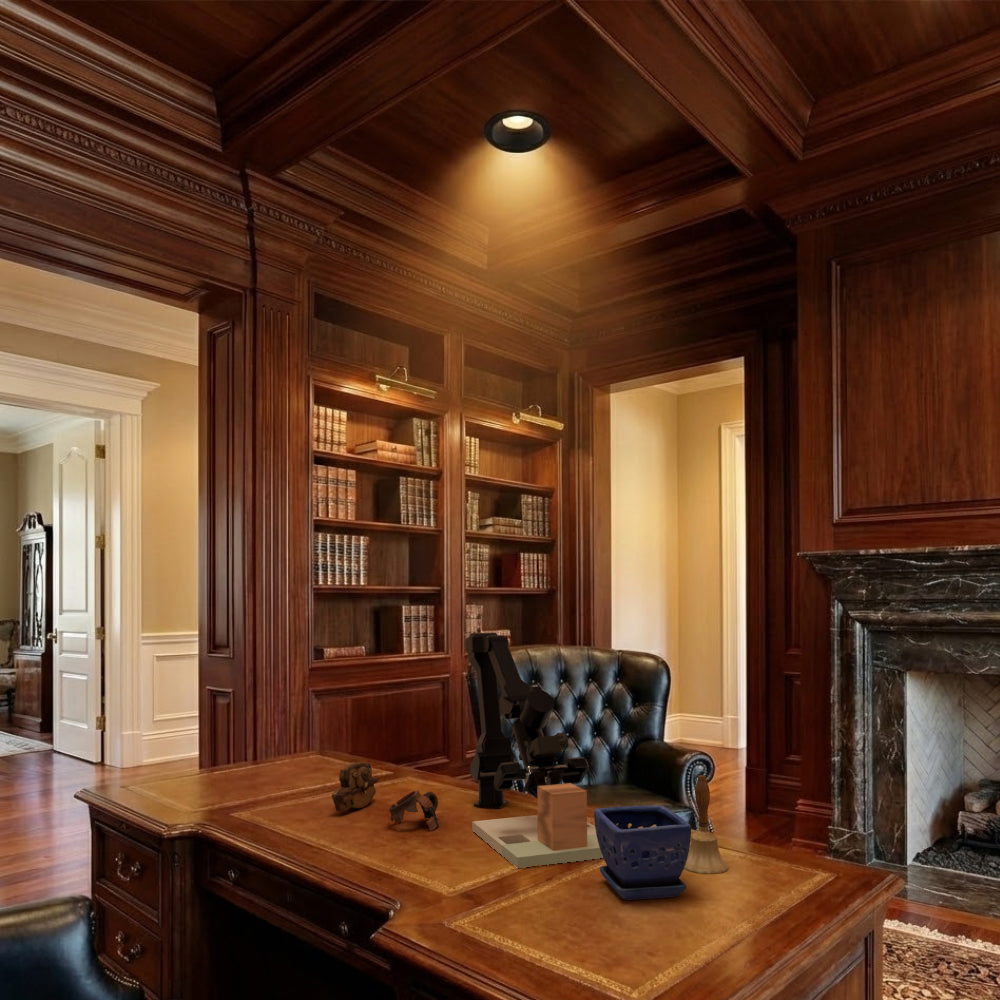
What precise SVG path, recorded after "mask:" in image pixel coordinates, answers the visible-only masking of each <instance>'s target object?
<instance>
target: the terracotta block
mask: <svg viewBox="0 0 1000 1000" xmlns="http://www.w3.org/2000/svg"><path fill="white" fill-rule="evenodd" d="M587 793H588V792H587V790H585V789H583V788H581V787H579V786H578V785H576V784H572V783H566V784H565V783H560V784H555V785H544V786H537V798H536V799H537V815H538V841H540V842H541V843H542V844H544V845H545V846H547V847H548V848H549V849H551V850H552V851H555V850H564V849H572V848H581V847H587V822H588V794H587Z"/></svg>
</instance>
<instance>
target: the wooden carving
mask: <svg viewBox="0 0 1000 1000" xmlns="http://www.w3.org/2000/svg"><path fill="white" fill-rule="evenodd" d="M372 769H373V768H372V766H371V764H370V763H369V762H368V763H365V762H360V761H359V762H349V763H348V764H346V765H345V766H344V767H343V768H342V769H340V770H339V775H338V779H339V782H340V787H337V788H335V789H334V790H333V792H332V794H331V799H332V800H333V803H334V808H335V811H336V812H346V811H348V810H353V809H362V808H364V807H366V806H367V805H368V804H369V803H371V801H372V800H373V799H374V797H375V795H376V793H377V789H376V787H375V784H377V783H378V782H379V777H374V776H373V774H372V773H373V772H372V771H373V770H372Z"/></svg>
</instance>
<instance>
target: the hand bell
mask: <svg viewBox="0 0 1000 1000" xmlns="http://www.w3.org/2000/svg"><path fill="white" fill-rule="evenodd" d="M697 776H698V777H697V780H696V784H695V789H694V794H695V802H696V805H697V810H698V831H697V832H694V833H691V841H690V848H689V853H688V858H687V861H686V864H685V867H684V870H686V871H688V870H689V871H688V872H691V871H693V872H692V873H696V872H697V873H696V874H701V873H703V875H714V874H713V873H719V874H722V872H723V873H726V871H728V870H729V865H728V863H727V862H726V861H725V859H723V857H722V856H721V853H720V850H719V846H718V837H717V836H716V835H715V834H713V833H712V832H710V830H709V829H710V828H709V818H708V817H709V816H708V809H709V806H710V799H711V798H710V797H711V793H710V787H709V783H708V781H707V777H706V775H704V774H700V775H697Z"/></svg>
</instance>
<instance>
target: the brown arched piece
mask: <svg viewBox="0 0 1000 1000" xmlns="http://www.w3.org/2000/svg"><path fill="white" fill-rule="evenodd" d="M417 803H418V804H419V805H420V808H421V809H422V812H423V816H424V819H428V820H427V821H426V825H427V826H428V829H429V831H430V830H432V831H434V830H435V829H437V827H439V821H438V816H437V814H436V811H437V809H438V806H439V799H438V797H437V795H436V794H435V793H434V792H432V791H427V792H426V793H424V794H421V792H420V790H419V789H417V790H413V791H411V792H409V793H407V794H406V795H404V796H403V797H401V798H400V799H398V800H397V801H396V804H394V803H393V804H392V805H391V806H390V807H389V808H388V811H389V812H390V821H391V822H395V824H397V823H399V824H400V823H401V821H404V815H405V811H406V812H409V813H418V812H419V810H418V808H417ZM433 829H434V830H433Z"/></svg>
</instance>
